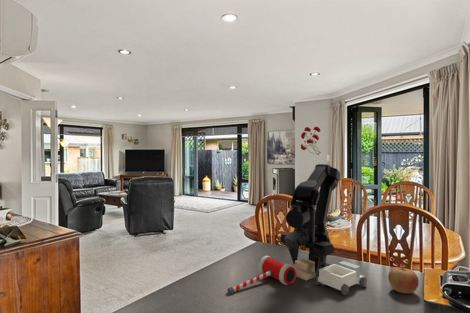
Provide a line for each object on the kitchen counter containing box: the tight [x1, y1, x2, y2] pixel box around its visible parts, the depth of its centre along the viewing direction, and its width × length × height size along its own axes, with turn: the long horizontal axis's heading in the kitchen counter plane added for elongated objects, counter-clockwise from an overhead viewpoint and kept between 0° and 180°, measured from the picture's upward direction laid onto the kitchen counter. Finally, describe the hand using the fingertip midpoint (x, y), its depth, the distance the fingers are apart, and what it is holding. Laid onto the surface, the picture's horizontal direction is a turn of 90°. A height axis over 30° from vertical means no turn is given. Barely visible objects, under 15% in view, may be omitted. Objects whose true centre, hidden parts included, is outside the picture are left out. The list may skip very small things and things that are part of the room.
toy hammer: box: [227, 255, 297, 295], centre depth 95 cm, size 23×12×6 cm, turn 127°
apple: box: [387, 264, 420, 294], centre depth 92 cm, size 8×8×8 cm
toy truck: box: [315, 260, 368, 296], centre depth 96 cm, size 13×10×6 cm
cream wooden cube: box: [294, 258, 317, 281], centre depth 103 cm, size 5×5×5 cm
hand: (305, 268), depth 103 cm, fingers open, 9 cm apart
